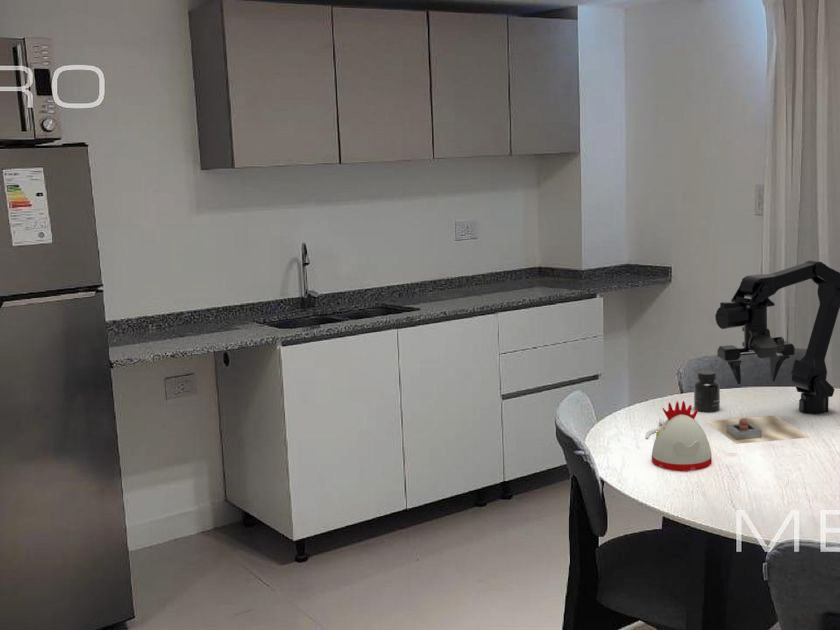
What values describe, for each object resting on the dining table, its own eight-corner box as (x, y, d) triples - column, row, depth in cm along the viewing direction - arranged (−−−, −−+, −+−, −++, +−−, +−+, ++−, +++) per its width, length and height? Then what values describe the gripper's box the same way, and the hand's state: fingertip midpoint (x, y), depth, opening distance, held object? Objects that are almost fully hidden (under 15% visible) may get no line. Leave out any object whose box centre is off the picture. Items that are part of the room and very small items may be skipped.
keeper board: (774, 420, 257) (774, 399, 256) (810, 442, 237) (810, 420, 236) (705, 426, 255) (705, 405, 254) (735, 449, 236) (735, 426, 235)
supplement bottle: (721, 417, 263) (720, 375, 260) (695, 417, 264) (694, 375, 262) (718, 410, 269) (718, 369, 267) (693, 411, 271) (692, 369, 269)
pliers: (645, 434, 248) (647, 418, 262) (645, 440, 248) (647, 423, 263) (684, 435, 246) (684, 418, 260) (684, 441, 246) (684, 424, 260)
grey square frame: (750, 430, 245) (750, 422, 245) (761, 437, 239) (761, 430, 238) (726, 432, 245) (726, 424, 244) (736, 439, 238) (736, 432, 238)
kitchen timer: (646, 453, 237) (645, 395, 234) (702, 451, 236) (702, 392, 234) (659, 472, 223) (657, 410, 221) (718, 469, 223) (717, 407, 220)
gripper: (733, 333, 240) (734, 393, 243) (805, 326, 241) (804, 386, 244) (716, 325, 251) (717, 382, 253) (784, 319, 252) (785, 376, 255)
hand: (756, 382), depth 251 cm, fingers open, 9 cm apart
